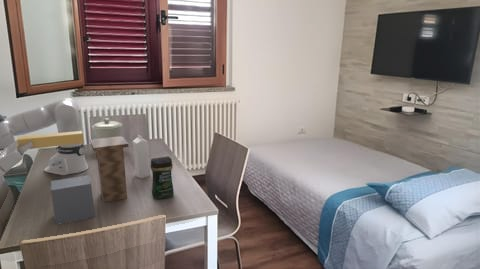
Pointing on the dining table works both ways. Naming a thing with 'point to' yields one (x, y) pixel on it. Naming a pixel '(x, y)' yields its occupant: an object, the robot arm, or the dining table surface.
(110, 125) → the canister
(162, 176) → the coffee jar
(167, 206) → the dining table surface
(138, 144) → the milk
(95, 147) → the walnut stand
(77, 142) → the yellow bar
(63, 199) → the podium
